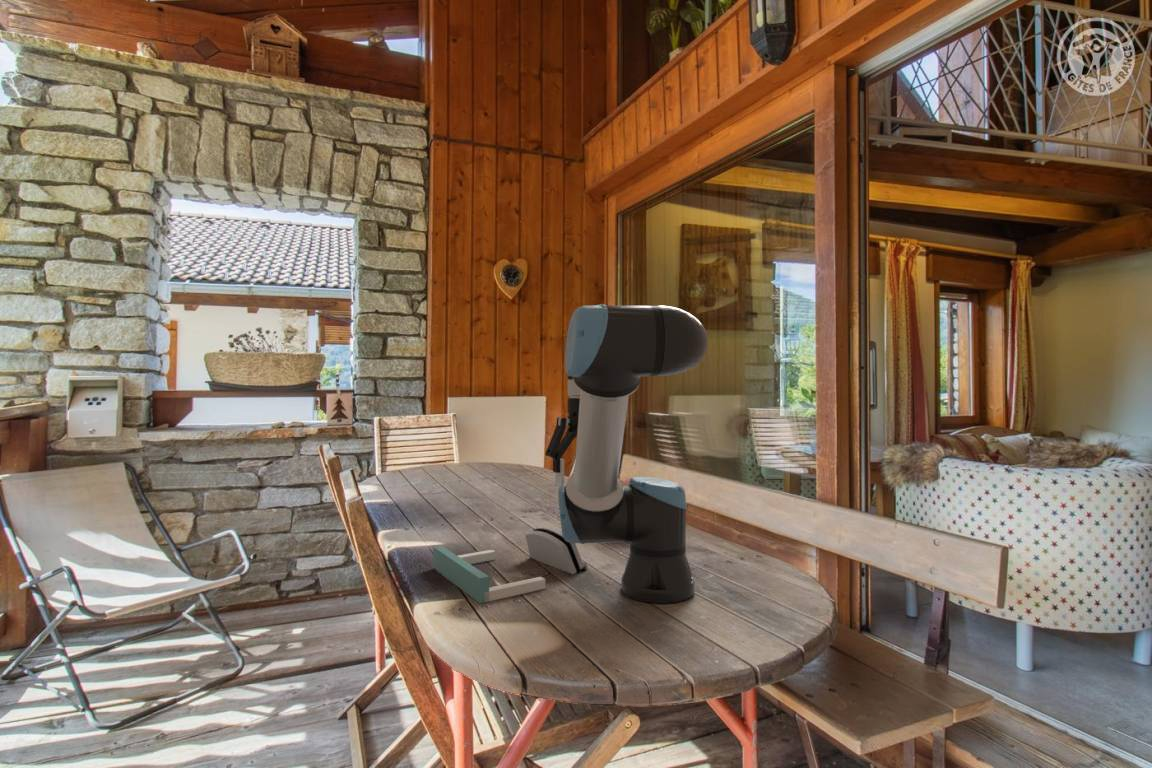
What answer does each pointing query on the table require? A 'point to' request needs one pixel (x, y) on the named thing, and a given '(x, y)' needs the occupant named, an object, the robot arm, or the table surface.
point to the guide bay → (478, 575)
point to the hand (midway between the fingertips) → (582, 483)
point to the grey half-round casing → (554, 549)
